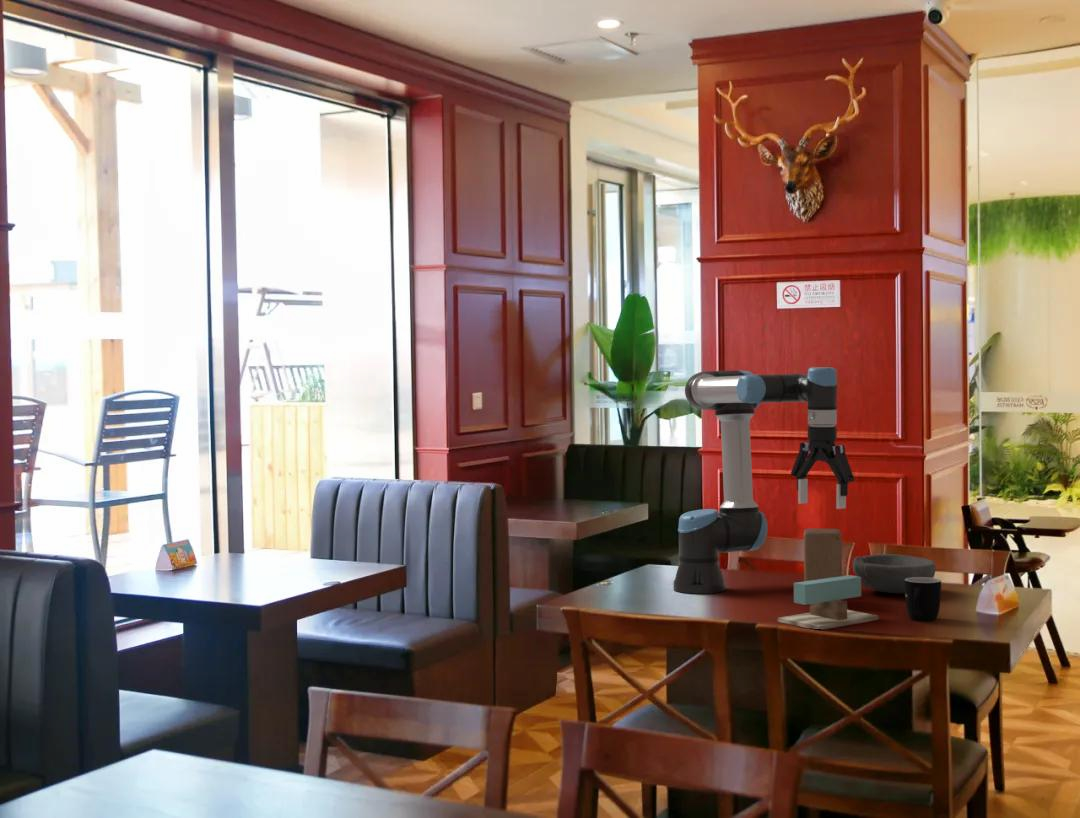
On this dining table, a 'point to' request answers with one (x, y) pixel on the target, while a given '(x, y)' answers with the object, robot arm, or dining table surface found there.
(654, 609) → the dining table surface
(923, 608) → the mug
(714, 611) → the dining table surface
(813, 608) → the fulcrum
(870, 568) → the bowl
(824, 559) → the wooden block
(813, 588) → the bar
